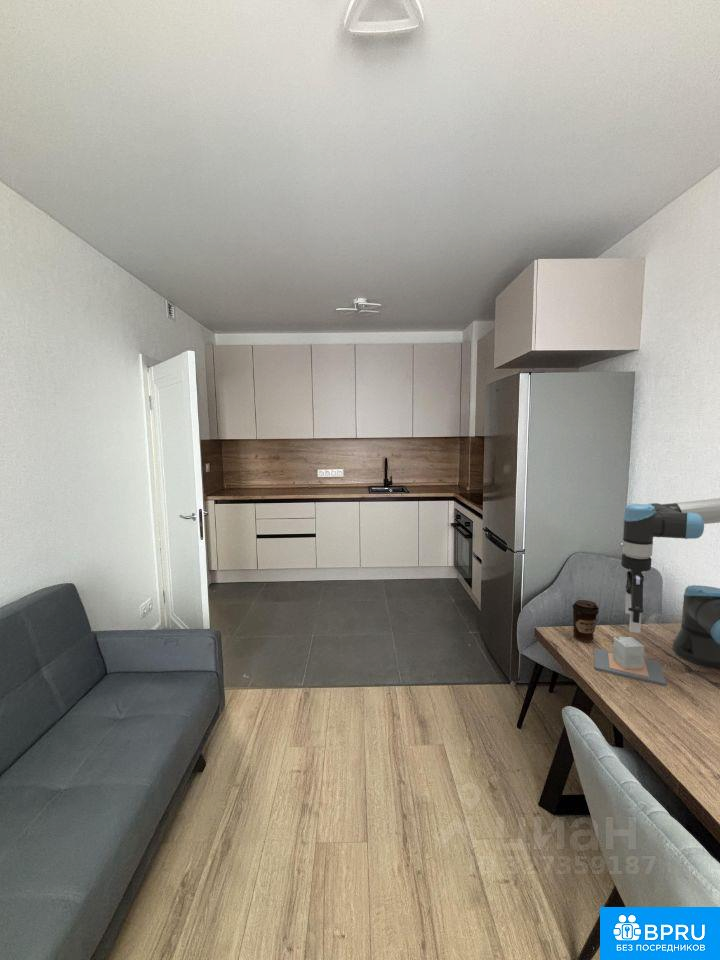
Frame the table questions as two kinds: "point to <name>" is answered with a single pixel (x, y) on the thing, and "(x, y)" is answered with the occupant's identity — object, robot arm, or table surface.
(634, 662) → the skincare box
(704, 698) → the table surface
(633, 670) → the card
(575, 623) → the coffee cup
